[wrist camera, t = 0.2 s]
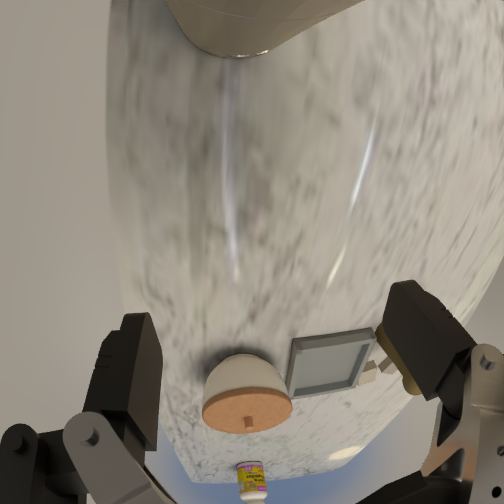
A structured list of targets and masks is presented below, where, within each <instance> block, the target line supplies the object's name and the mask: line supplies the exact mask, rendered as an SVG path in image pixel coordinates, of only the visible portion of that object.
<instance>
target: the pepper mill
mask: <svg viewBox="0 0 504 504" xmlns="http://www.w3.org/2000/svg"><path fill="white" fill-rule="evenodd" d="M375 335H376V337H377V339H376V341H377V342H378V343H379V345H380V346H381V347H382V349H383V350H384V351H385V353H386V354H387V355H388V357H389V358H390V359H391V361H392V362H393V363H394V365H395V366H396V367H397V369H398V370H399V371H400V373H401V374H402V375H403V379H402V381H403V386H404V388H405V390H406V391H407V393H409V394H411V395H420V394H422V392H421V391H420V389H419V387H418V386H417V384H416V382H415V380H414V379H413V377H412V376H411V374H410V372H409V371H408V369H407V367H406V366H405V364H404V362H403V361H402V359H401V358H400V356H399V354H398V353H397V351H396V350H395V348H394V346H393V345H392V343H391V342H390V340H389V339H388V337H387V335H386V334H385V332H384V329H383V323H381V324H380V325H379V326H378V328H377V330H376V332H375Z"/></svg>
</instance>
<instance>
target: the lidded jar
mask: <svg viewBox="0 0 504 504" xmlns="http://www.w3.org/2000/svg"><path fill="white" fill-rule="evenodd" d="M291 412H292V403H291V400H290V398H289V395H288V391H287V388H286V385H285V383H284V381H283V379H282V377H281V375H280V373H279V372H278V371H277V370H276V369H275V367H273V366H272V365H271V364H270V363H268V362H266V361H265V360H263V359H261V358H260V357H258V356H256V355H252V354H235V355H232V356H229V357H227V358H225V359H224V360H223V361H222V362H221V363H220V364H219V365H217V366H216V367H215V368H214V369H213V370H212V372H211V373H210V375H209V376H208V378H207V381H206V383H205V387H204V393H203V408H202V418H203V420H204V422H205V423H206V424H207V425H208V426H209V427H211V428H213V429H215V430H218V431H221V432H226V433H236V434H243V433H254V432H259V431H264V430H267V429H270V428H272V427H275V426H277V425H279V424H281V423H282V422H284V421H285V420H286V419H287V418H288V417H289V416H290V414H291Z"/></svg>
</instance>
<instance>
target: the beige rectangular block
mask: <svg viewBox="0 0 504 504" xmlns="http://www.w3.org/2000/svg"><path fill="white" fill-rule="evenodd" d="M379 368H380V370H381V372H382V373H388V374H393V373H394V372H395V371H396V370H397V367H396V366H395V365H394V363H393V362H392V361H391V359H390V358H389V357H387V358H386V359H385V360H384V361H383V362H382V363H381V364H380V365H379Z"/></svg>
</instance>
